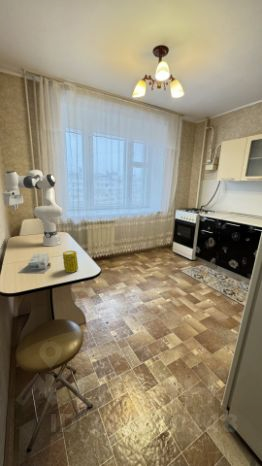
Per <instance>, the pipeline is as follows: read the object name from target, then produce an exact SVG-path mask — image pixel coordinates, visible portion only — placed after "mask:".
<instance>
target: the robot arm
mask: <svg viewBox="0 0 262 466" xmlns="http://www.w3.org/2000/svg"><path fill="white" fill-rule="evenodd" d="M43 173H44V172H43V171H41V170H40V169H32V170H28V171H27V172H26V173H25V175H19V174H18V173H17V171H14V170H7V171H5V172H4V181H5V182H4V183H5V186H6V187H5V191H3V192H2V197H3V199H2V200H3V204H4V206H6V207H8V206H9V207H10V206H11V207H12V210H13V211H18V208H19V205H21V204H24V197H23V195H22V193H21V191H20V189H30V190H31V189H34V188H36V189H37V190H42V189H43V196H42V201H43V203H44V205H40V206H36V207H35V208H33V214H34V216H35V217H36V218H38V219H39V220H40V221H41V223H42V224H43V236H42V243H41V245H43V246H44V247H56V246H61V245H62V244H63V241H64V240H63V239H61V235H59V234H58V232H59V230H58V229H57V226H56V225H57V224H56V222H55V221H54V220H51V219H50V218H57V217H58V218H59V217H61V216H63V214H64V213H63V208H62V207H61V206H59V205H58V204H57V203H56V192H55V189H54V187H55V184H56V177H55V176H54V175H53V174H49V173H48V174H43Z"/></svg>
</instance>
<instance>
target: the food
mask: <svg viewBox="0 0 262 466" xmlns="http://www.w3.org/2000/svg"><path fill="white" fill-rule="evenodd" d="M62 260H63V267H64V271H65V273H69V274H70V273H75V272H77V271H78V270H79V263H78V255H77V251H76V250H66V251H63V252H62Z"/></svg>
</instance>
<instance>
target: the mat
mask: <svg viewBox="0 0 262 466" xmlns="http://www.w3.org/2000/svg"><path fill="white" fill-rule="evenodd" d="M51 267H52V265H51V266H47V267H46V269H33V270H31V267H30V265H29V264H28V265H26V266H24V267H23V268H22V269H21V270H20V271H18V272H17V273H18V274H45V273H46V272H47V271H49V269H50V268H51Z"/></svg>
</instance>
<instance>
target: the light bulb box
mask: <svg viewBox="0 0 262 466" xmlns="http://www.w3.org/2000/svg"><path fill="white" fill-rule="evenodd" d="M28 263H29V264H30V267H31V270H33V269H46V267H47V265H48V263H50V256H49V253H48V252H47V253H45V252H44V253H33V255H32V256H31V258H30V260H29V262H28ZM29 264H28V265H29Z"/></svg>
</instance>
